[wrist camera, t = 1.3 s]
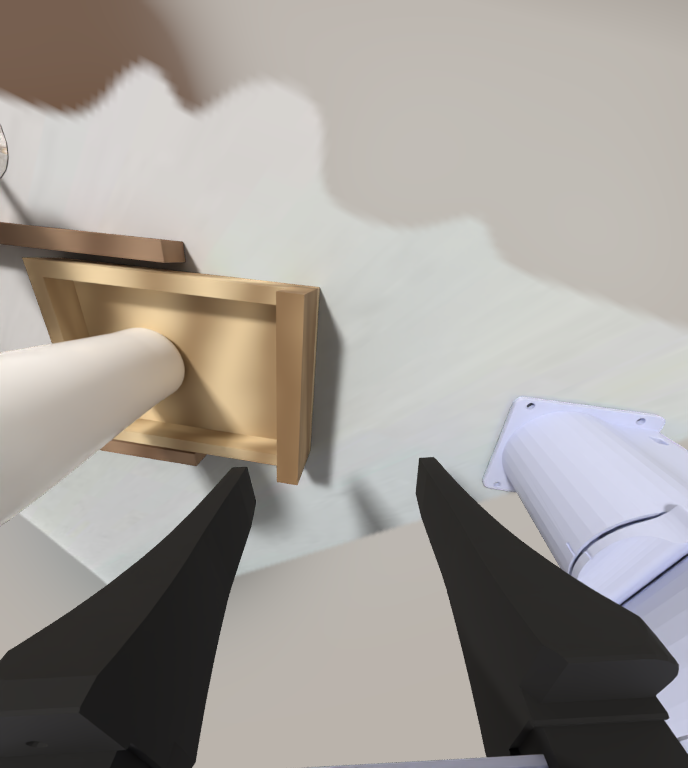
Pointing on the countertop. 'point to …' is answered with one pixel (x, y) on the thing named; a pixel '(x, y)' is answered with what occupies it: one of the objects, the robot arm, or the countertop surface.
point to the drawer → (202, 353)
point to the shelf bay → (113, 248)
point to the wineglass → (2, 153)
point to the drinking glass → (74, 404)
